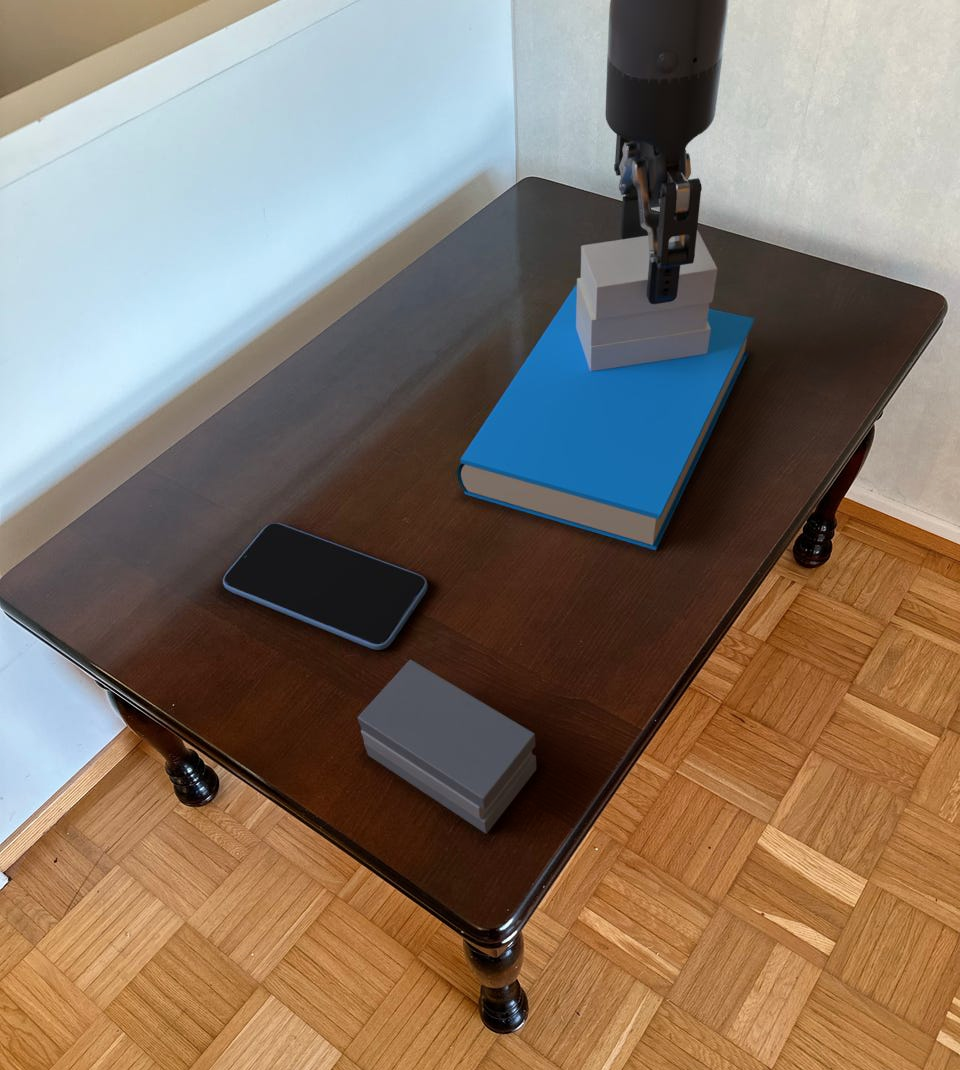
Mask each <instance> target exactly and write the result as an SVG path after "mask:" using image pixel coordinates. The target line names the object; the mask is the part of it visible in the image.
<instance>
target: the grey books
mask: <svg viewBox="0 0 960 1070" xmlns="http://www.w3.org/2000/svg"><path fill="white" fill-rule="evenodd" d="M357 721H358V724H359V726H360V733H361V737H362V739H363V746H364V747H365V751H366V754H367V756H368V757H370V758H371V759H373V760H374V761H375V762H377V763H379V764H381V765H382V766H383V767H385V768H387V769H388V770H389V771H391V772H392V773H394V774H395V775H397V776H398V777H400V778H401V779H403V780H405V781H406V782H407V783H409V784H410V785H412V786H413V787H415V788H417V790H419V791H421V792H422V793H424V794H425V795H427V796H428V797H430V798H432V799H433V800H435V801H436V802H437V803H439V804H440V805H442V806H443V807H445V808H446V809H448V810H449V811H451V812H452V813H454V814H455V815H457V816H458V817H461V818H462V819H463V820H465V821H466V822H467V823H469V824H470V825H473V827H475V828H476V829H478V830H480V831H481V832H483V833H484V834H488V833H489V832H490V831H491V829H492V828H493V826H495V824H496V822H497V821H498V820H499V818H500V817H501V816H502V815H503V814H504V813H505V811H506V810H507V808H508V807H509V806H510V804H511V803H512V802H513V801H514V799H515V798H516V796H517V795H518V794H519V793H520V792H521V790H522V789H523V788H524V786H525V785H526V783H527V782H528V781H529V780H530V778H531V777H532V776H533V775H534V774H535V772H536V771H537V756H536V755H534V754H533V750H534V748H536V733H534V732H533V731H531V730H529V729H528V728H526V727H525V726H523V725H521V724H520V723H518V722H517V721H514V720H513V719H511V718H509V717H508V716H507V715H504V714H502V713H501V712H500V711H497V710H496V709H494V708H493V707H491V706H490V705H488V704H486V703H484V702H483V701H481V700H480V699H478V698H476V697H474V696H472V695H471V694H469V693H468V692H466V691H464V690H462V689H461V688H460V687H457V686H456V685H454V684H452V683H451V682H450V681H447V680H446V679H444V678H442V677H441V676H439V675H437V674H436V673H434V672H433V671H431V670H429V669H427V668H426V667H424V666H423V665H421V664H419V663H418V662H415V661H414V660H412V659H409V660H408V661H407V662H406V663H405V664H404V666H402V667H401V669H400V670H399V671H398V672H397V673H396V674H395V675H394V676H393V678H391V680H390V681H389V682H388V683H387V684H386V686H384V687H383V689H381V691H380V692H379V693H378V694H377V695H376V696H375V698H373V699H372V701H370V703H369V704H368V705H367V706H366V707H365V708H364V709H363V710H362V711H361V713H360V714H359V715H358V716H357Z"/></svg>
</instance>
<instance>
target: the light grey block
mask: <svg viewBox="0 0 960 1070" xmlns="http://www.w3.org/2000/svg"><path fill="white" fill-rule="evenodd" d="M674 241H675V236H674V237H671V238H670V240H669V242H674ZM649 259H650V257H649V241H648V236H642V237H635V238H629V239H622V238H621V239H616V240H610V241H604V242H595V243H589V244H583V245H581V246H580V278H581V280H582V283H583V286H584V289H585V292H586V294H587V297H588V300H589V303H590V306H591V308H592V311H593V314H594V317H595V319H596V320H600V319H607V318H613V317H620V316H626V315H633V314H639V313H646V312H653V311H659V310H666V309H672V308H679V307H685V306H692V305H698V304H705V303H710V304H711V303H714V296H715V289H716V284H717V283H716V282H717V276H718V275H717V274H718V267H717V265H716V263H715V261H714V259H713V258H712V255H711V253H710V251H709V249H708V248H707V246H706V244H705V241H704V240H703V237H702V235H701V233H700V232H699V229H697V236H696V246H695V257H694V262H693V263H692V264H685V265H680V273H679V282H678V291H677V297H676V299H675V300H673V301H671V302H666V303H659V304H651V303H650V302H649V300H648V298H647V283H648V271H649Z"/></svg>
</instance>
